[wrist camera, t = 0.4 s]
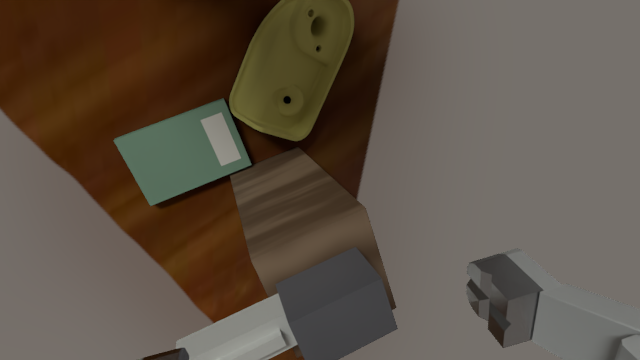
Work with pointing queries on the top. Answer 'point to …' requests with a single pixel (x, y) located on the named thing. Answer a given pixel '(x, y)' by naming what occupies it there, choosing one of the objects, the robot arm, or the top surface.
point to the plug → (304, 316)
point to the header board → (184, 151)
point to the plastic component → (292, 66)
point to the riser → (299, 219)
